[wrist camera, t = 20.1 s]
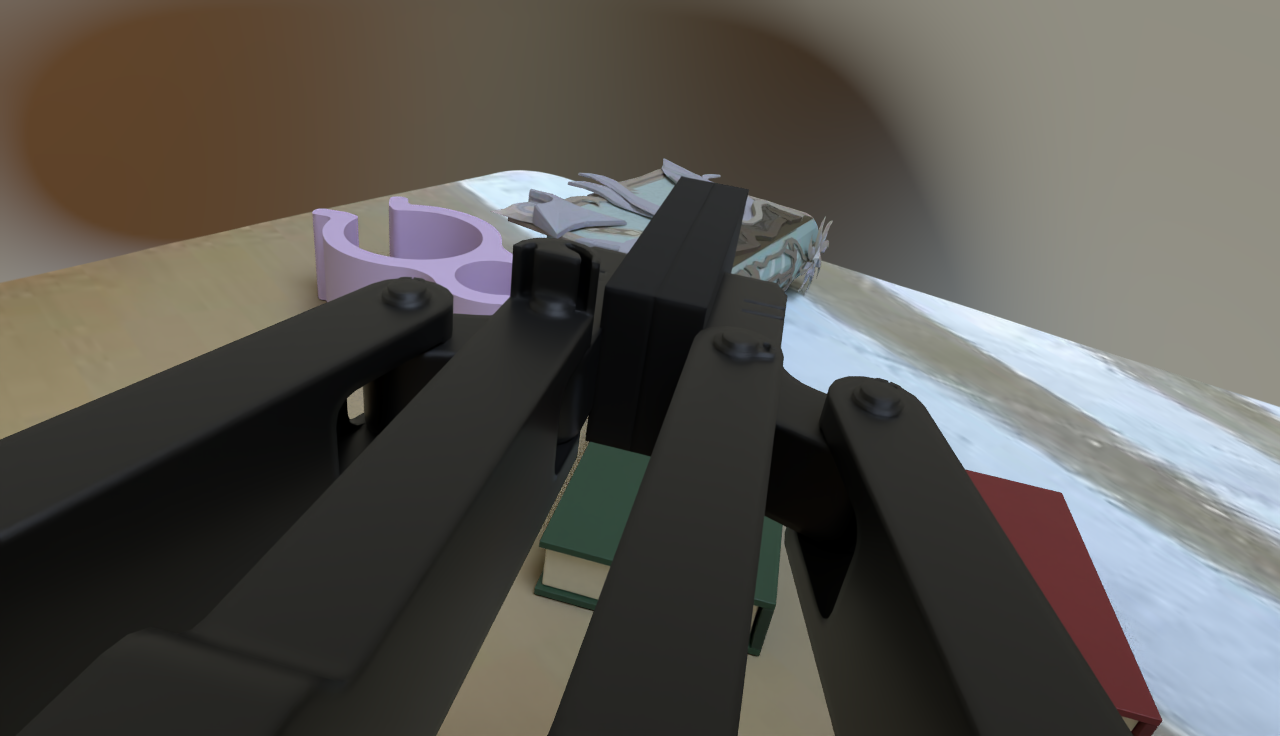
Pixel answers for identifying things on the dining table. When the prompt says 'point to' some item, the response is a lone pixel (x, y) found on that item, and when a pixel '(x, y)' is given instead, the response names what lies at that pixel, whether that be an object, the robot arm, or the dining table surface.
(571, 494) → the green book
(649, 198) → the ornate book
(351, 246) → the clip
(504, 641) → the dining table surface
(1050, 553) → the burgundy book
